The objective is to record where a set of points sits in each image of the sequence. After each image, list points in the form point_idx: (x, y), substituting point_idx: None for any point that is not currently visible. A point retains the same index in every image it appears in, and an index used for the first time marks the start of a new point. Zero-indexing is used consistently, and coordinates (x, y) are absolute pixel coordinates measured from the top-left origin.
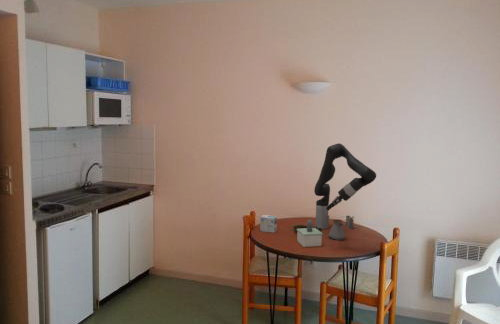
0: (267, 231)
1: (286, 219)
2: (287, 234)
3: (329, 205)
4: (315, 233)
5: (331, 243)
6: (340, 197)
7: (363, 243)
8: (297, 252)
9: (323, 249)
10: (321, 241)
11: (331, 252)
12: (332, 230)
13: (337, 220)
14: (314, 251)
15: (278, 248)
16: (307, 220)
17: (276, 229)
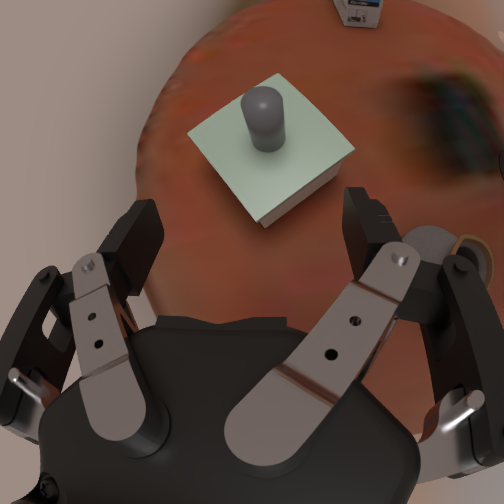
0: (338, 10)
1: (497, 53)
2: (358, 62)
3: (110, 243)
4: (234, 181)
5: (344, 262)
6: (49, 488)
7: (402, 396)
8: (153, 161)
9: (234, 247)
10: (262, 223)
11: (210, 291)
12: (419, 247)
13: (487, 261)
14: (190, 217)
15: (172, 90)
16: (253, 90)
17: (376, 26)
